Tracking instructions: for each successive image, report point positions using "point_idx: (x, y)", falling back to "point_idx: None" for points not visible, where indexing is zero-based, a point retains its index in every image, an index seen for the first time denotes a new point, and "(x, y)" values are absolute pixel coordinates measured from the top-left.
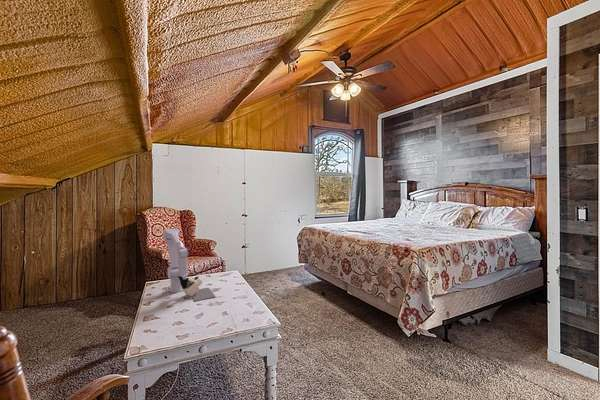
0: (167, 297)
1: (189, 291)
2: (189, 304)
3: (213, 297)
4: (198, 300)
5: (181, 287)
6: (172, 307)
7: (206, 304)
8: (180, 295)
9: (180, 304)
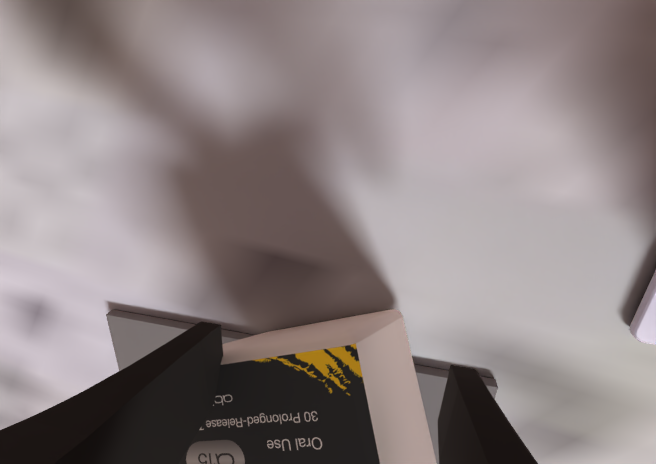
0: (503, 18)
1: None
2: (54, 244)
3: None
4: (117, 344)
5: (330, 335)
6: (15, 41)
7: (15, 357)
8: (431, 241)
9: (83, 158)
